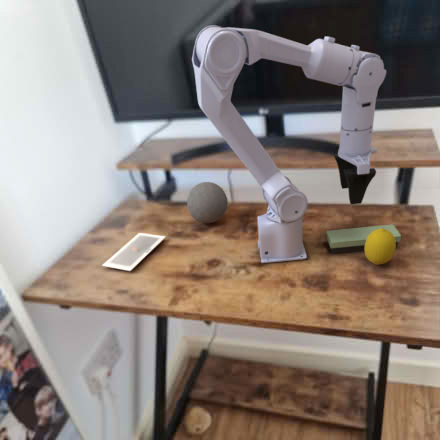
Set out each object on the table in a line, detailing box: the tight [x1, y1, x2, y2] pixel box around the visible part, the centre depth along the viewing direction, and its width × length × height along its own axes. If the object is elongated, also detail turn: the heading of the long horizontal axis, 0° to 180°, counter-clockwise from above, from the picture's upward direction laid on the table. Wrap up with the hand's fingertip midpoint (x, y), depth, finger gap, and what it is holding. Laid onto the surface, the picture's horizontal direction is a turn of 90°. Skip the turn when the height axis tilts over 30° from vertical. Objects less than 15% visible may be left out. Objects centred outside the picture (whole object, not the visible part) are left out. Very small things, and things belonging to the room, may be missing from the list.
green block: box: [325, 224, 402, 255], centre depth 85 cm, size 14×5×3 cm, turn 90°
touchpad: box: [101, 232, 167, 272], centre depth 93 cm, size 8×15×2 cm, turn 155°
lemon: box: [363, 228, 397, 266], centre depth 77 cm, size 6×6×8 cm
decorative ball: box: [186, 181, 228, 224], centre depth 100 cm, size 10×10×10 cm
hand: (351, 195), depth 83 cm, fingers open, 7 cm apart
